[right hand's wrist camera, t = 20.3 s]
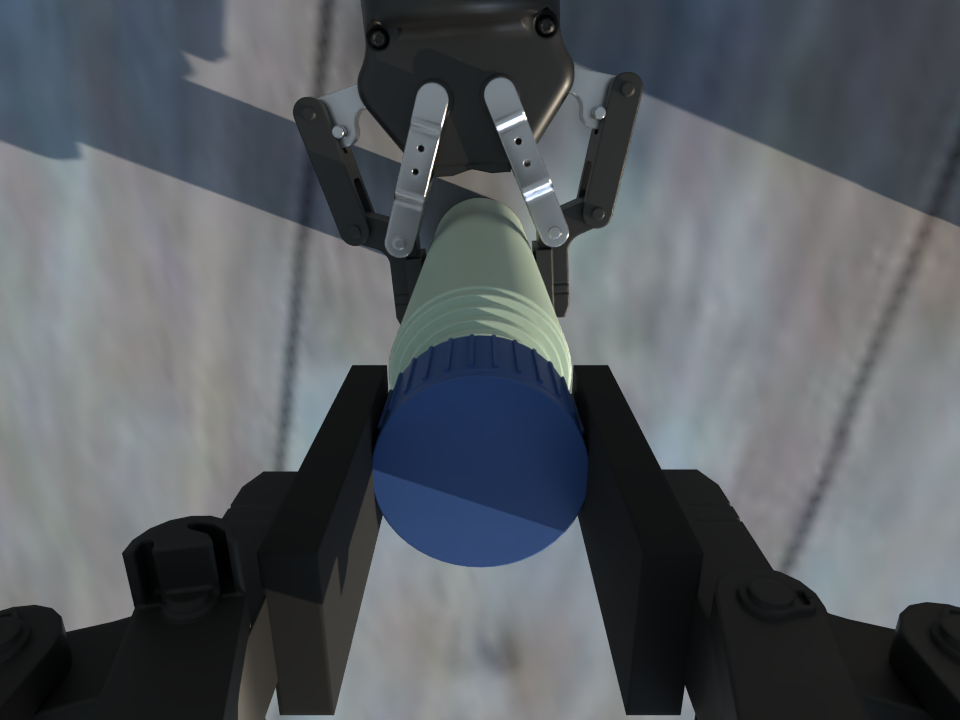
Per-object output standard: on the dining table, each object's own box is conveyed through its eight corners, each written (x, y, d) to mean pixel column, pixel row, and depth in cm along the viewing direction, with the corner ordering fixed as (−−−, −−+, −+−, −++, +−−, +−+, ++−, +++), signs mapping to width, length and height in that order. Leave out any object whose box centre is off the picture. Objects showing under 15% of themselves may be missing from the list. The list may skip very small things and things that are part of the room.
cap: (603, 466, 15) (624, 527, 13) (432, 529, 16) (425, 597, 13) (534, 300, 14) (544, 337, 11) (350, 376, 14) (326, 424, 12)
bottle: (443, 189, 34) (375, 324, 12) (533, 207, 34) (630, 370, 12) (428, 279, 36) (344, 541, 14) (515, 295, 36) (570, 578, 14)
